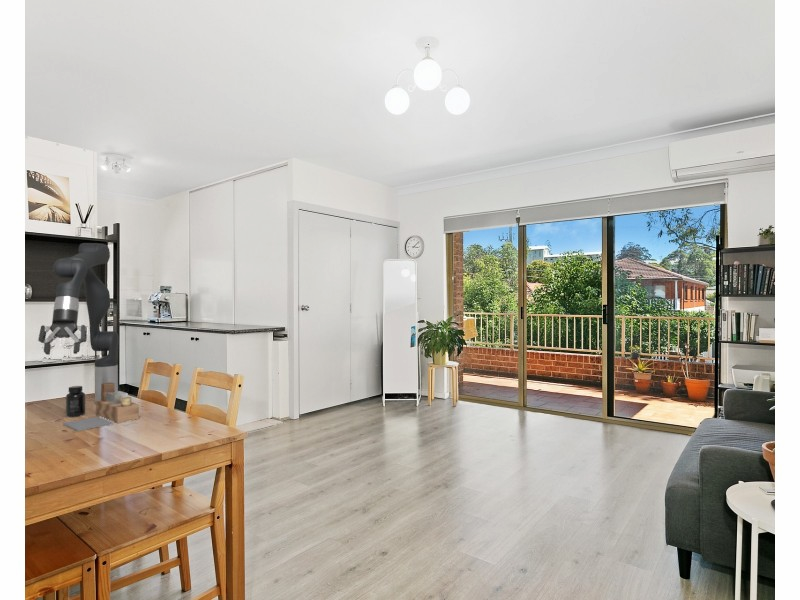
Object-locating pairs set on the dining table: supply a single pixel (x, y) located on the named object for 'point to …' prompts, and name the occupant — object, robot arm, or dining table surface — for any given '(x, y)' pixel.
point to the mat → (87, 423)
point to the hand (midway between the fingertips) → (61, 353)
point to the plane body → (116, 406)
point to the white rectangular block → (115, 397)
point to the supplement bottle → (75, 402)
